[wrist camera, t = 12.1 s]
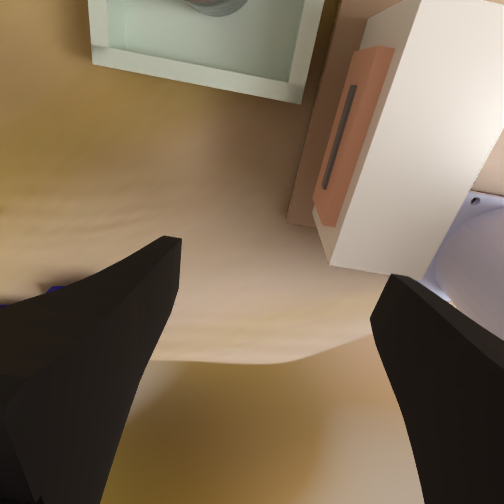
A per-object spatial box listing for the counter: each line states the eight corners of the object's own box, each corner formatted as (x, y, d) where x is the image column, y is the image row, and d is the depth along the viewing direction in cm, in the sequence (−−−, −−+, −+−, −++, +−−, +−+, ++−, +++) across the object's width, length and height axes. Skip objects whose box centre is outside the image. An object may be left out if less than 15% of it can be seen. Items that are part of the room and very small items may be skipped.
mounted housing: (462, 15, 15) (592, -23, 9) (373, 233, 21) (415, 298, 15) (342, -11, 15) (394, -68, 9) (286, 218, 21) (293, 277, 15)
